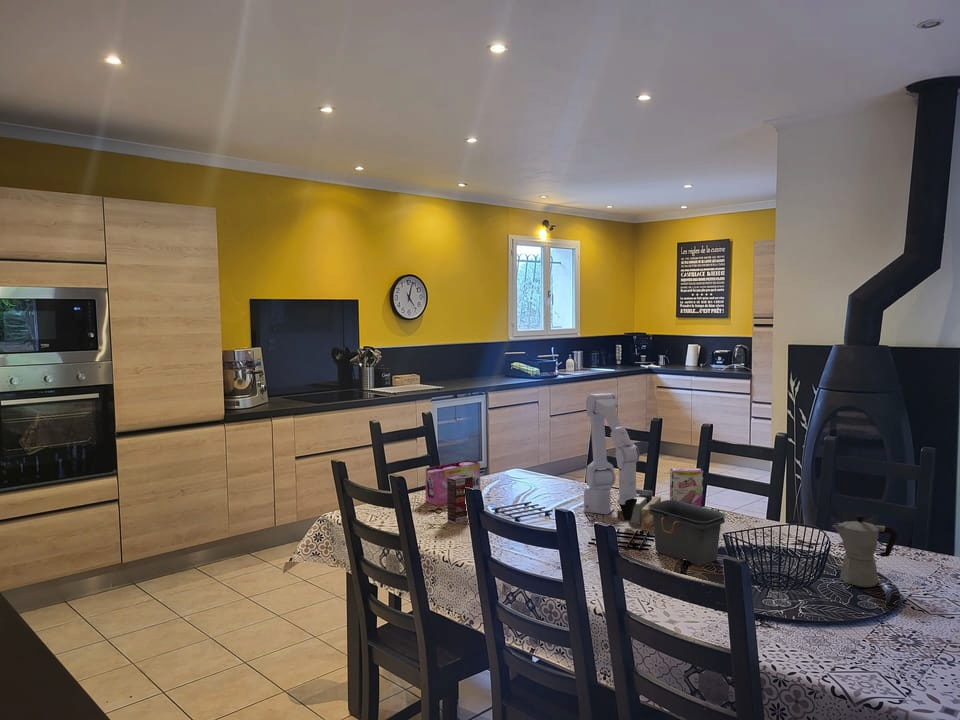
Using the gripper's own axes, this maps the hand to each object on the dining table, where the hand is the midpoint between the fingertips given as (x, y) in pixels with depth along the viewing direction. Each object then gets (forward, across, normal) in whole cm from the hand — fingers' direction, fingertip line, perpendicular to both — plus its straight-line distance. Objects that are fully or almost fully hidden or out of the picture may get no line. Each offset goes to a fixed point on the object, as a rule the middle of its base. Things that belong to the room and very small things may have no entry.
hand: (627, 520), depth 236 cm
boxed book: (+3, +11, 0) cm, 11 cm away
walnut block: (+2, +11, +4) cm, 12 cm away
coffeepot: (+3, -19, -70) cm, 73 cm away
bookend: (+2, +17, -1) cm, 17 cm away
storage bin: (+3, -21, -23) cm, 32 cm away
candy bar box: (+3, +25, -14) cm, 29 cm away
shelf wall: (+2, +9, -6) cm, 11 cm away
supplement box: (+3, -18, +56) cm, 58 cm away
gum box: (+3, +7, +74) cm, 74 cm away
